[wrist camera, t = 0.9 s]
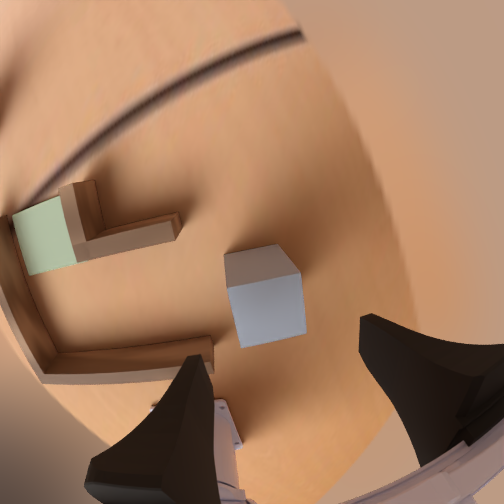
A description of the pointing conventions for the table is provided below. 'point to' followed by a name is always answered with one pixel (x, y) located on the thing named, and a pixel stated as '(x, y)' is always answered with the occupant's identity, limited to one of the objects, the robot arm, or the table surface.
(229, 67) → the table surface
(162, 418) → the robot arm
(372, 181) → the table surface
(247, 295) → the block
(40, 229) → the pad
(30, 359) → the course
